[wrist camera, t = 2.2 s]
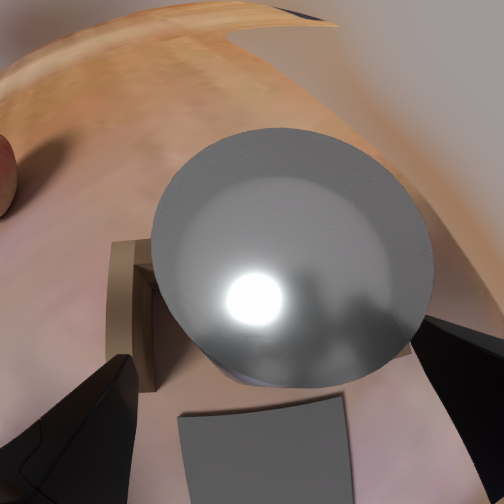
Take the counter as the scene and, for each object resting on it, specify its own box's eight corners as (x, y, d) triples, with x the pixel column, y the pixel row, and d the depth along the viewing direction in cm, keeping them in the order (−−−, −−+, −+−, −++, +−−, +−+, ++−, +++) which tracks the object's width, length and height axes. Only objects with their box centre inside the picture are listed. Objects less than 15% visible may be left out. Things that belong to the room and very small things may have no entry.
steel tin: (321, 346, 17) (467, 258, 5) (245, 404, 15) (283, 459, 3) (264, 276, 19) (309, 106, 7) (188, 326, 17) (107, 197, 5)
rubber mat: (351, 518, 11) (353, 520, 11) (202, 542, 10) (201, 545, 10) (339, 396, 15) (341, 396, 15) (178, 416, 14) (177, 417, 14)
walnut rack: (378, 362, 17) (411, 353, 13) (133, 391, 15) (107, 391, 11) (353, 252, 20) (375, 223, 17) (132, 269, 18) (111, 242, 15)
